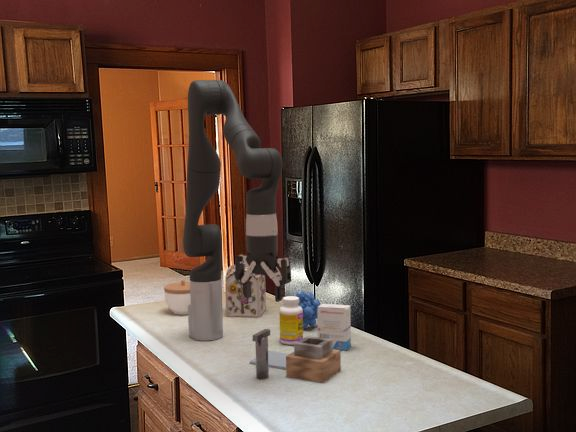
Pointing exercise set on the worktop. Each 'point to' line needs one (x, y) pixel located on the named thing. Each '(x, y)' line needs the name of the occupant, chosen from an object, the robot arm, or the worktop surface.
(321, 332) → the ink box
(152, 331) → the worktop surface
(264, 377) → the chuck key
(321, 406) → the worktop surface
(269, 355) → the mat
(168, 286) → the lidded bowl
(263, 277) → the decorative jar
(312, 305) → the grapes
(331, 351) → the block
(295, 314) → the supplement bottle
